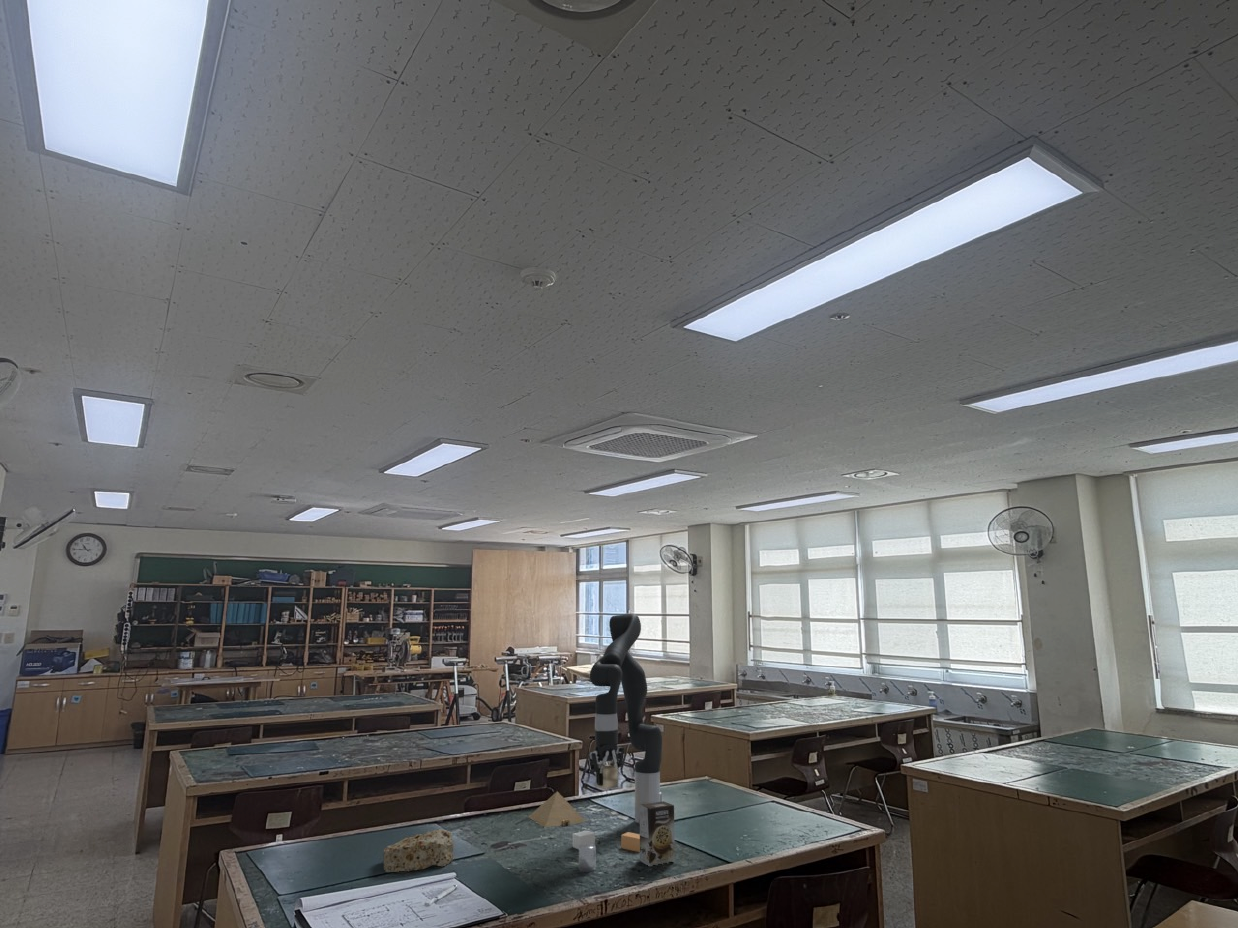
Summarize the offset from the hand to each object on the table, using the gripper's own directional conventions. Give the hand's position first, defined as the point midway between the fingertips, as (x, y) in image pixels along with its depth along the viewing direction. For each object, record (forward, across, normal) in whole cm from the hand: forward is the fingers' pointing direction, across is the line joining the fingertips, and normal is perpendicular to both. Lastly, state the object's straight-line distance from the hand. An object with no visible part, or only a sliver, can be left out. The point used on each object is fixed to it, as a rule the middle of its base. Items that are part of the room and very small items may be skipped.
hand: (606, 783), depth 224 cm
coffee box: (+21, -6, +16) cm, 27 cm away
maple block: (+1, 0, 0) cm, 1 cm away
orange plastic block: (+21, -9, +2) cm, 23 cm away
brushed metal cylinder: (+20, +14, +7) cm, 25 cm away
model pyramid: (+21, -11, -41) cm, 47 cm away
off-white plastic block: (+21, +1, -10) cm, 23 cm away
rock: (+20, +49, -30) cm, 61 cm away
